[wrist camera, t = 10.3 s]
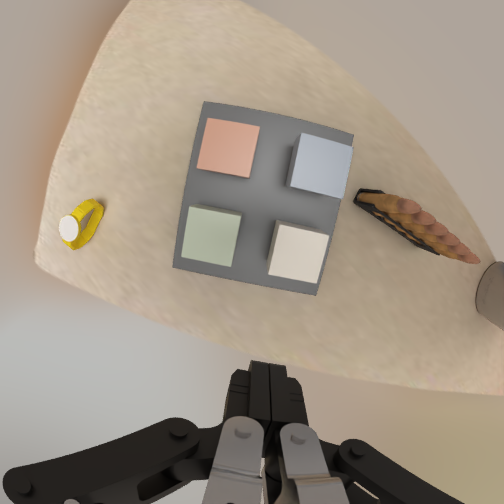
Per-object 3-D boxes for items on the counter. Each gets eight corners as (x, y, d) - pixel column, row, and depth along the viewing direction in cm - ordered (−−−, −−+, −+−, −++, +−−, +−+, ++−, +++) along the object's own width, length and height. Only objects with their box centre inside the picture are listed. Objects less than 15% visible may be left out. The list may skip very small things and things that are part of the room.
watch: (97, 195, 30) (72, 194, 24) (114, 207, 30) (90, 209, 24) (76, 236, 30) (49, 243, 25) (92, 249, 31) (66, 258, 25)
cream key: (320, 229, 28) (329, 235, 25) (309, 272, 29) (316, 283, 26) (276, 219, 28) (279, 224, 25) (266, 263, 29) (268, 274, 26)
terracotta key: (259, 133, 26) (259, 126, 23) (249, 178, 27) (249, 177, 24) (212, 125, 26) (207, 117, 22) (203, 170, 27) (196, 168, 24)
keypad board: (350, 136, 28) (363, 130, 24) (313, 291, 32) (321, 305, 28) (205, 104, 27) (199, 93, 23) (175, 264, 31) (165, 274, 28)
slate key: (341, 151, 25) (353, 147, 22) (331, 197, 26) (342, 199, 23) (295, 139, 25) (301, 132, 22) (285, 186, 26) (290, 186, 23)
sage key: (242, 212, 28) (241, 216, 24) (233, 257, 29) (230, 267, 26) (196, 203, 28) (189, 206, 24) (189, 248, 29) (181, 256, 25)
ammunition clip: (352, 202, 30) (406, 213, 18) (359, 187, 29) (417, 191, 18) (417, 247, 31) (480, 275, 19) (424, 234, 31) (488, 257, 19)
